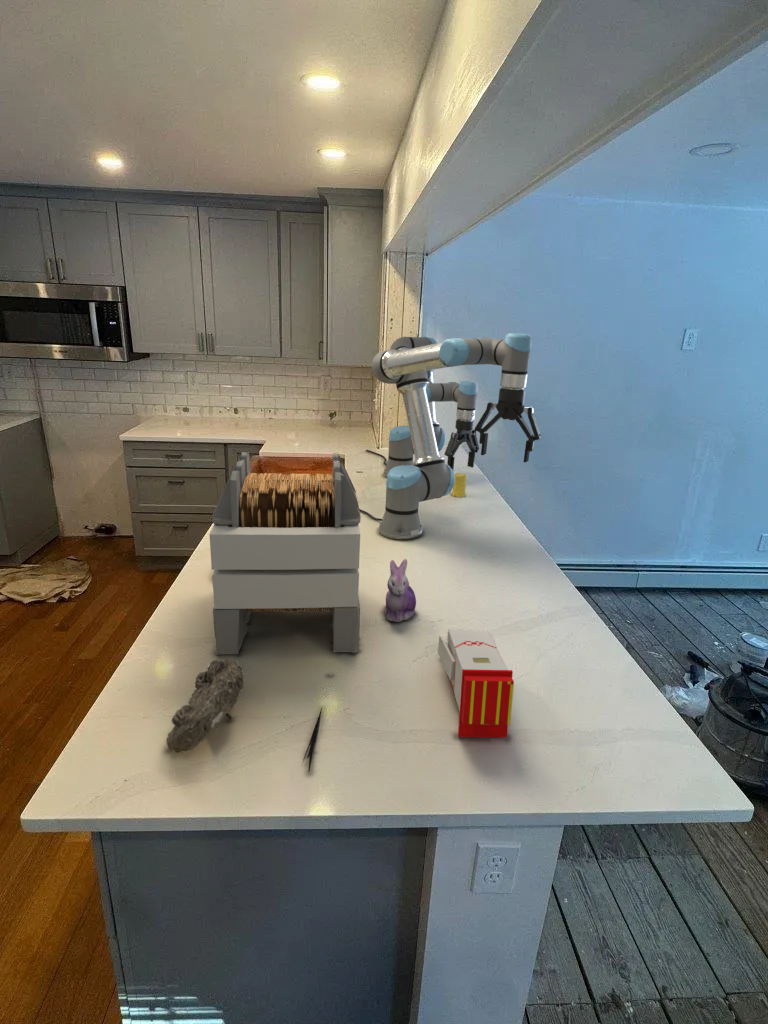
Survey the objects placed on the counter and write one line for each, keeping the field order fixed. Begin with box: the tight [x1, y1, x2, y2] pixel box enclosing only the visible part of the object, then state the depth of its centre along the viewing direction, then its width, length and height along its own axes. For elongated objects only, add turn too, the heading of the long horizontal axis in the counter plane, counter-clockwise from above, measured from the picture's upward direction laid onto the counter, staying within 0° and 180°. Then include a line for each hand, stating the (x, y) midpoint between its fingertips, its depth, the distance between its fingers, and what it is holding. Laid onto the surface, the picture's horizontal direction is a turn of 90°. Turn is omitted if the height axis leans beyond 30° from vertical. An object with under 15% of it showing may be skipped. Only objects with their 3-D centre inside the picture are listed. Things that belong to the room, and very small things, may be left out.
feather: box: [301, 673, 332, 771], centre depth 108 cm, size 2×28×2 cm
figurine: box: [384, 558, 417, 623], centre depth 145 cm, size 9×10×15 cm
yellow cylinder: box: [451, 472, 468, 498], centre depth 243 cm, size 5×5×9 cm
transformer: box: [209, 451, 362, 656], centre depth 137 cm, size 34×33×41 cm
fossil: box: [166, 658, 245, 754], centre depth 106 cm, size 22×10×15 cm
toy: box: [437, 628, 515, 738], centre depth 117 cm, size 12×13×30 cm
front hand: (504, 457), depth 175 cm, fingers open, 13 cm apart
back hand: (460, 469), depth 241 cm, fingers open, 13 cm apart
